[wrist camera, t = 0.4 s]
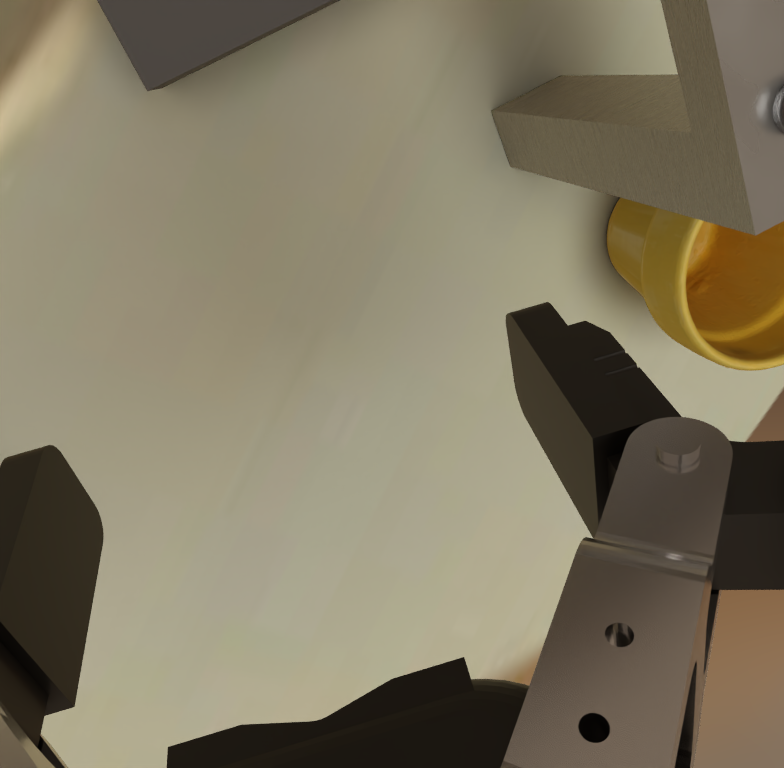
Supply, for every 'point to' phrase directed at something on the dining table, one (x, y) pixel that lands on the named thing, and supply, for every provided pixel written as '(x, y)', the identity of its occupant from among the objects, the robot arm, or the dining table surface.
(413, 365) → the dining table surface
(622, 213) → the plant pot
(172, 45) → the dark grey box
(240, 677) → the dining table surface
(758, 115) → the grey metal arch
